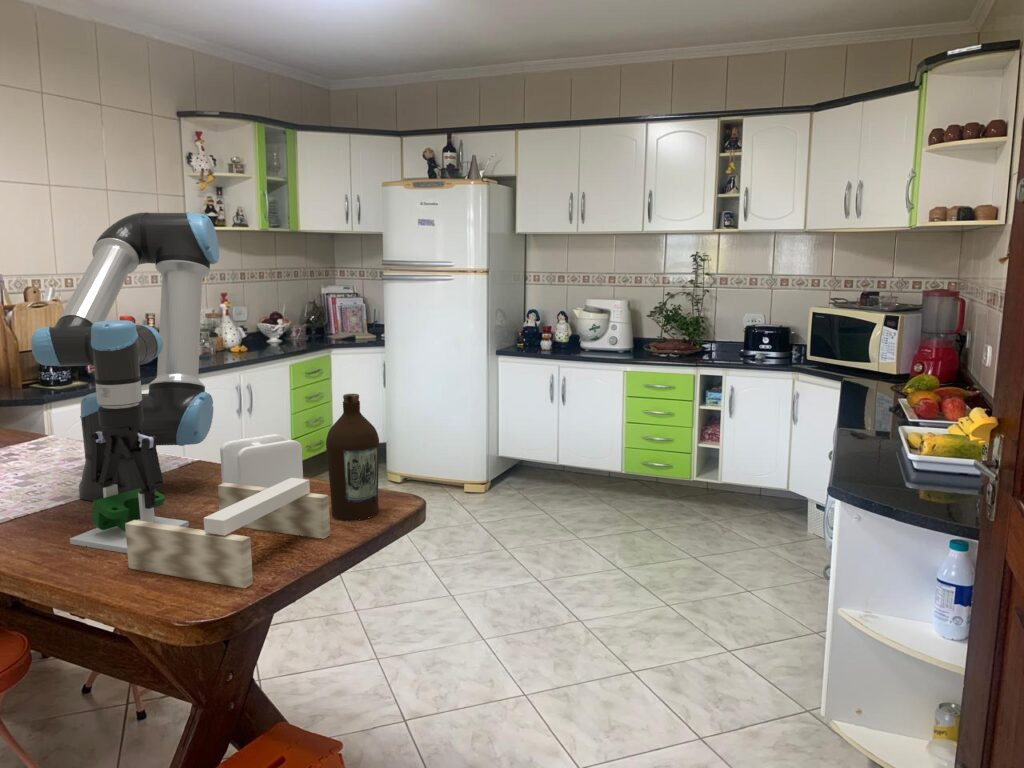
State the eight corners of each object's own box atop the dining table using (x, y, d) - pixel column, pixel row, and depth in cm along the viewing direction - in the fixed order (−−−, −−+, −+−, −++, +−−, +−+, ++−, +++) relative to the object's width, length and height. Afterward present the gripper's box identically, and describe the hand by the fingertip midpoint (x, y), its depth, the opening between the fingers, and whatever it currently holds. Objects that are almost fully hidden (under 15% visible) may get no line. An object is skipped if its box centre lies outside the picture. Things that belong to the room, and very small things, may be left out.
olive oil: (321, 511, 163) (316, 393, 159) (368, 502, 169) (364, 388, 165) (341, 526, 154) (336, 402, 150) (389, 515, 160) (386, 396, 156)
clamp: (119, 553, 146) (102, 520, 141) (101, 540, 149) (84, 506, 144) (173, 514, 154) (160, 481, 149) (155, 502, 157) (141, 469, 151)
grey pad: (70, 543, 145) (69, 538, 145) (133, 517, 159) (133, 513, 158) (129, 553, 140) (128, 548, 140) (189, 526, 154) (188, 521, 154)
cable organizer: (238, 502, 168) (235, 450, 166) (221, 491, 176) (218, 441, 174) (304, 489, 178) (301, 439, 176) (284, 478, 186) (282, 431, 184)
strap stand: (128, 568, 134) (124, 523, 132) (226, 520, 157) (224, 482, 156) (245, 588, 126) (242, 541, 125) (330, 535, 149) (328, 495, 148)
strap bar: (204, 532, 128) (203, 517, 127) (291, 490, 150) (291, 477, 149) (224, 535, 126) (223, 520, 126) (309, 492, 149) (309, 479, 148)
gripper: (60, 404, 145) (72, 521, 149) (148, 412, 138) (158, 534, 142) (94, 397, 152) (104, 509, 156) (179, 404, 145) (188, 521, 149)
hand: (130, 521), depth 149 cm, fingers closed on clamp, 8 cm apart
